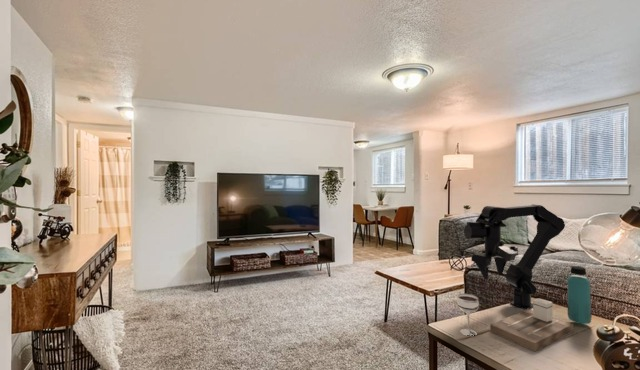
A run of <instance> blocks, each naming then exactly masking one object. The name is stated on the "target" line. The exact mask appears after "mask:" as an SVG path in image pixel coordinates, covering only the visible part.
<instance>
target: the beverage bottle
mask: <svg viewBox="0 0 640 370" xmlns="http://www.w3.org/2000/svg"><path fill="white" fill-rule="evenodd" d="M570 273H571V274H573V275H570V276H568V277H567V279H566V281H567V304H566V306H567V317H568V320H570V321H571V322H575V323H578V324H582V325H583V324H584V325H590V324H591V322H592V316H593V315H592V299H591V298H592V297H591V281H590V279H588V278H587V277H586V276H585V275H587V271H586V268H585V267H583V266H578V265H577V266H576V265H574V266H573V265H572V266H571V268H570Z"/></svg>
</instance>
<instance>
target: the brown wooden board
mask: <svg viewBox="0 0 640 370" xmlns="http://www.w3.org/2000/svg"><path fill="white" fill-rule="evenodd" d="M489 325H490V326H489V327H490V328H489V330H490V332H489V333H492V334H495V335H497V336H499V337H502V338H503V339H506V340H508V341H511V342H513V343H514V344H517V345H519V346H521V347H524V348H526V349H527V350H528V349H529V350H531V351H533V352H536V351H539V350H540V349H542V348H544V347H546V346H548V345H550V344H552V343H554V342H556V341H558V340H559V339H562V338H564V337H565V336H567V335H570V334H571V333H573V332H574V323H572V322H568V321H567V320H563V319H560V318H557V317H555V316H553V320H551V321H548V322H546V321H543V320H540V319H537V318H534V317H533V309H530V308H529V309H524V310H523V311H521V312H518V313H515V314H513V315H510V316H508V317H505V318H503V319H500V320H498V321H495V322H493V323H490V324H489Z"/></svg>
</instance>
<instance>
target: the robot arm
mask: <svg viewBox="0 0 640 370" xmlns="http://www.w3.org/2000/svg"><path fill="white" fill-rule="evenodd" d="M529 216H532V217H533V220H534V221H536V223H537V224H536V234H535V235H534V237H533V239H532V241H531V243H530V244H529V245H528V247H527V249H526V250H525V252H524V254H523V256H522V257H521V259H520V260H519V262H518V263H516V264H513V263H510V264H509V266H508V268H507V270H505V267H506V264H507V263H508V262H511V261H514V260H516V257H517V256H519V250H518V249H519V248H518V246H516V245H512V246H506V245H505V242H504V240H502V236H501V235H502V234H501V232H502V231H501V229H502V228H505V227H507V225H506V224H505V222H503V221H506V220H508V219H510V218H518V217H529ZM565 227H566V224H565V221H564V219H563V218H562V217H559V216H558V215H556V214H555V213H553V212H552V211H550V210H549V209H547V208H546V207H545V206H544V205H542V204H541V205H540V204H530V205H519V206H510V207H509V206H508V207H506V206H505V207H501V206H491V205H485V206H484V207H483V208H482V209H481V213H480V214H479V215H478V217H477V219H476V220H475V221H467V222H466V225H465V226H464V229H463V234H464V237H465V238H466V239H467V240H477V239H478V240H481V243H482V244H484V249H483V250H481V251H482V252H476V253H473V254H472V255H471V258H470V259H471V260H470V261H471V262H473V263H474V264H475V265H476V266H477V268H478V270H479V271H480V273H481V276H482V277H483V280H488V278H489V268H490V267H491V265H492V264H493V263H492V261H493V260H494V263H495V266H496V271H497V274H498V275H499V276H502V275H503V273H504V270H505V280H506V282H507V283H508V285H509V287H510V288H513V300H512V301H511V302H509V304H510V305H512V306H516V307H519V308H521V309H524V310H528V309H530V308H533V302H532V295H533V294H536V293H537V289H538V288H537V287H536V286H535V285H534V284H533V283H532V279H533V269H534V267H535V266H536V265H537V263H538V261H539V259H540V258H541V256H542V255H543V253H544V251H545V249H546V248H547V246H548V245H549V243H550V241H551V240H552V239H554V238H555V237H558V236H559V235H560V234H561V232H562V231H564V229H565ZM492 259H493V260H492Z"/></svg>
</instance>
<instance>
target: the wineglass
mask: <svg viewBox="0 0 640 370" xmlns="http://www.w3.org/2000/svg"><path fill="white" fill-rule="evenodd" d="M456 297H457V301H456V304H457V307H458V308H459V309H460V310H461V311H462V312H463V313H465V314H466V320H467V323H466V324H467V328H463V329H460V333H461V334H462V335H464V336H467V335H470V336H469V337H475V336H477V335H478V334H477V332H476V331H475V330H473V329H471V328H470V315H471V314H474V313H476V312H477V311H478V310H479V308H480V303H479V299H480V297H478V296H477V295H475V294H471V293H459V294H457V296H456ZM471 335H473V336H471ZM474 335H475V336H474Z"/></svg>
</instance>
